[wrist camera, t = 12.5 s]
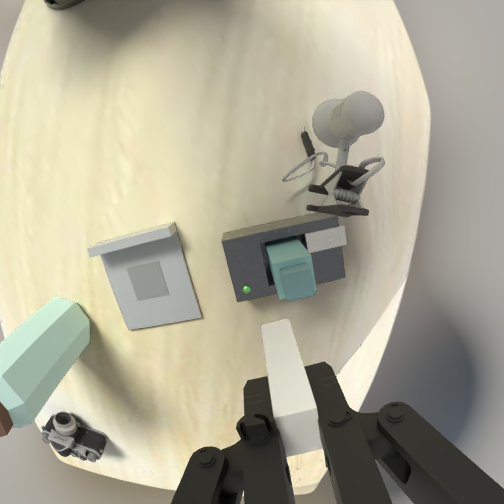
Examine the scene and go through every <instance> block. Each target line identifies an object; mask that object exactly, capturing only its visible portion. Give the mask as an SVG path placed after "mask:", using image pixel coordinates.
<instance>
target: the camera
mask: <svg viewBox="0 0 504 504" xmlns="http://www.w3.org/2000/svg"><path fill="white" fill-rule="evenodd" d="M42 427H43V428H42V429H43V431H42V435H43V437H42V440H43V441H44V442H45V443H47V444H49V443H51V445H52V446H53V448H54V449H55V450H56V451H57V452H58V453H59V454H60V455H61V456H64V457H67V456H69V455H72V456H74V457H78V458H80V459H81V460H83V461H85V460H87V459H88V460H89V461H91V462H96V459H97V460H99V459H100V458H101V455H102V453H103V450H104V448H105V445H106V443H107V440H108V437H107V435H106V434H105V433H103V432H101V431H98V430H95V429H92V428H89V427H86V426H84V425H81V424H80V423H79V422H76V421H75V419H74V417H73V416H71V415H70V414H69V413H67V412H59V413H57V414H56V415H55V414H53V415H52V416H51V418H50V419H49V421H48V422H47V424H46V426H45V427H44V426H42Z"/></svg>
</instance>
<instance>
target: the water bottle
mask: <svg viewBox="0 0 504 504" xmlns="http://www.w3.org/2000/svg"><path fill="white" fill-rule="evenodd" d="M89 342H90V322H89V319H88V317H87V316H86V315H85V313H84V312H83V310H82V309H81V308H80V306H79V305H78V304H77V303H76V302H73V301H70V300H67V299H64V298H62V297H58V296H55V297H54V298H53V299H51V300H50V301H49V302H48V303H46V304H45V305H44V306H43V307H41V308H40V309H39V310H38V311H37V312H35V313H34V314H33V315H32V316H31V317H30V318H28V319H27V320H26V321H25V322H24V323H23V324H21V325H20V326H19V327H18V328H17V329H16V330H14V331H13V332H12V333H11V334H10V335H9V336H8V337H7V338H5V339H4V340H3V341H2V342H1V343H0V437H2V436H5V435H7V434H8V433H9V431H10V429H11V428H12V427H17V428H21V427H24V426H27V425H30V424H32V422H33V421H34V419H35V418H36V416H37V415H38V413H39V412H40V410H41V409H42V407H43V406H44V404H45V403H46V401H47V400H48V399H49V397H50V396H51V394H52V393H53V391H54V390H55V388H56V387H57V386H58V384H59V383H60V381H61V380H62V379H63V377H64V376H65V374H66V373H67V372H68V370H69V369H70V368H71V366H72V365H73V363H74V362H75V361H76V359H77V358H78V357H79V355H80V354H81V353H82V351H83V350H84V349H85V347H86V346H87V345H88V343H89Z"/></svg>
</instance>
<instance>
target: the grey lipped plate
mask: <svg viewBox="0 0 504 504" xmlns="http://www.w3.org/2000/svg"><path fill="white" fill-rule="evenodd" d="M88 252H89V255H90V257H93V256H97V255H101V258H102V261H103V264H104V267H105V270H106V273H107V276H108V279H109V282H110V284H111V287H112V290H113V293H114V295H115V298H116V301H117V303H118V306H119V308H120V311H121V313H122V316H123V318H124V321H125V323H126V326H127V328H128V330H132V329H138V328H145V327H151V326H157V325H163V324H168V323H174V322H180V321H185V320H191V319H196V318H202V314H201V311H200V308H199V305H198V301H197V298H196V295H195V292H194V289H193V285H192V282H191V279H190V275H189V272H188V268H187V265H186V262H185V258H184V255H183V251H182V247H181V244H180V240H179V237H178V233H177V229H176V226H175V222H172V223H168V224H164V225H160V226H156V227H152V228H149V229H145V230H141V231H137V232H134V233H130V234H126V235H123V236H119V237H116V238H112V239H108V240H105V241H102V242H98V243H97V244H95V245H93V246H91V247H90V248H88Z"/></svg>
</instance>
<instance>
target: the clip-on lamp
mask: <svg viewBox="0 0 504 504" xmlns="http://www.w3.org/2000/svg"><path fill="white" fill-rule="evenodd" d="M383 120H384V110H383V107H382V104H381V103H380V101H379V100H378V99H377V98H376V97H375V96H374V95H372V94H370V93H368V92H364V91H358V92H355V93H353V94H351V95H350V96H348V97H346V98H344V99H343V100H341V99H331V100H327V101H325V102H323V103H322V104H320V105H319V106H318V108H317V109H316V110H315V112H314V115H313V118H312V126H313V129H314V132H315V134H316V136H317V137H318V139H319V140H320V141H322V142H323V143H324V144H325V145H328V146H330V147H333V148H339V150H338V156H337V163H336V165H334V164H331V163H329V162H328V155H327V153H325V152H319V153H316V154H315V153H314V151H315V149H314V148H313V146H312V142H311V141H310V139H309V136H308V133H307V132H305V127H302V134H301V138H302V140H303V143H304V146H305V149H306V152H307V154H308V157H309V158H308V159H306V160H304V161H303V162H302V163H300V164H299V165H298V166H296V167H295V168H294V169H292V170H291V171H290V172H288V173H287V174H286V175H285V176H284V177H283V178H282V179H281V180H282V181H283V182H284V181H289V180H293V179H296V178H298V177H301V176H303V175H305V174H306V173H308V172H310V171H311V170H312V169H313V168H314V165H315V160H314V159H315V158H316V156H318V155H321V154H323V155H324V158H323V161H321V162H320V165H321V166H323V167H325V166H326V165H330V166H332V167H335V168H336V169H335V172H334V173H333V174H332V175H331V176H330V177H329V178H328V179H327V180H326V181H325V182H324V183H323V184H321V185H320V186H318V185H310V186H309V189H308V191H310V192H315V193H320V194H325V195H328V196H327V198H326V200H325V202H324V203H323V205H322V206H313V205H308V206H307V209H306V210H309V211H315V212H320V213H326V214H332V215H337V216H342V217H350V215H363V216H368V213H369V210H367V209H364V208H363V206H362V204H361V202H360V200H359V199H360V194H361V192H362V190H363V188H364V186H365V184H366V182H367V180H368V179H369V178H370V177H371V176H372V175H374V174H375V173H376V172H378V171H379V170H380V169H381V168H382V167H383V166H384V164H385V160H384V158H382V157H374V158H370V159H367V160H364V161H362V162H361V163H360V164H359V168H358V167H354V166H349V165H347V159H348V152H349V146H350V145H352V144H353V143H355V142H356V141H357V139H358V138H359V137H360V136H362V135H365V134H369V133H372V132H374V131H375V130H377V129H378V128H380V126H381V125H382V123H383ZM309 160H310V161H312V166H311V168H310V169H309V170H308V171H307V172H305V173H303V174H301V175H299V176H296V177H293V178H289V179H286V178H287V177H288V176H289V175H290V174H292V173H293V172H294V171H295V170H297V169H298V168H299V167H301V166H302V165H304V164H305V163H306V162H308V161H309ZM375 162H379V163H378V164H377V165H376V166H375V167H374V168H372V169H371V170H370V171H369V170H366V169H364V168H365V166H367V165H368V164H371V163H375ZM336 200H341V201H345V202H351V204H350V205H341V204H340V205H338V204H337V201H336Z"/></svg>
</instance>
